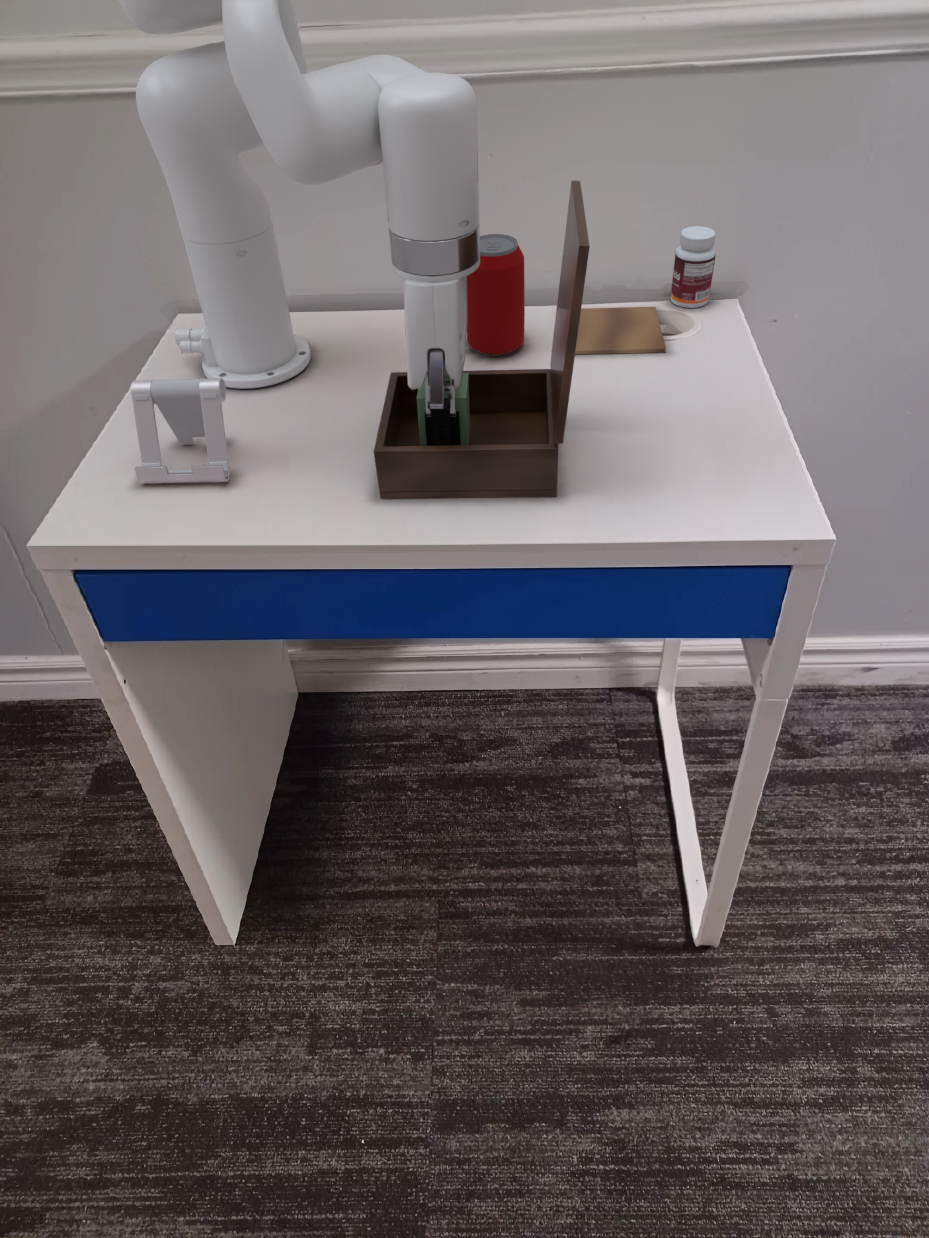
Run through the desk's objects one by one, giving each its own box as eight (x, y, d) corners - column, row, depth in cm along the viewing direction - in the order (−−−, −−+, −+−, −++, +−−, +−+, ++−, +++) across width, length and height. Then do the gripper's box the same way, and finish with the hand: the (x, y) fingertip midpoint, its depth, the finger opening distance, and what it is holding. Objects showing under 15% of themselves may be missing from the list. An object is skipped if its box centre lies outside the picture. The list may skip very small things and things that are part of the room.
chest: (380, 499, 84) (373, 451, 80) (395, 417, 94) (390, 372, 91) (556, 497, 83) (558, 448, 79) (552, 415, 93) (554, 368, 89)
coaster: (569, 354, 102) (569, 350, 102) (565, 312, 110) (565, 308, 110) (665, 352, 102) (665, 348, 101) (655, 310, 110) (655, 306, 109)
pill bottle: (669, 292, 113) (677, 224, 107) (707, 292, 113) (717, 224, 107) (670, 308, 110) (678, 239, 104) (709, 309, 109) (720, 240, 103)
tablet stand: (140, 488, 87) (113, 412, 81) (163, 444, 93) (139, 370, 87) (226, 486, 86) (205, 410, 81) (244, 442, 92) (225, 368, 86)
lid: (579, 245, 67) (589, 245, 67) (571, 180, 77) (580, 180, 77) (553, 443, 79) (562, 444, 79) (550, 364, 89) (558, 364, 89)
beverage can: (526, 333, 107) (525, 231, 99) (523, 360, 102) (522, 255, 94) (470, 333, 108) (465, 231, 99) (464, 359, 103) (459, 255, 95)
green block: (421, 452, 86) (416, 398, 82) (424, 427, 90) (420, 373, 85) (468, 452, 86) (466, 397, 82) (470, 426, 89) (468, 372, 85)
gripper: (400, 210, 81) (415, 389, 93) (379, 291, 69) (399, 484, 81) (483, 208, 80) (486, 389, 93) (476, 290, 68) (481, 484, 81)
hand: (445, 431), depth 87 cm, fingers closed on green block, 4 cm apart
